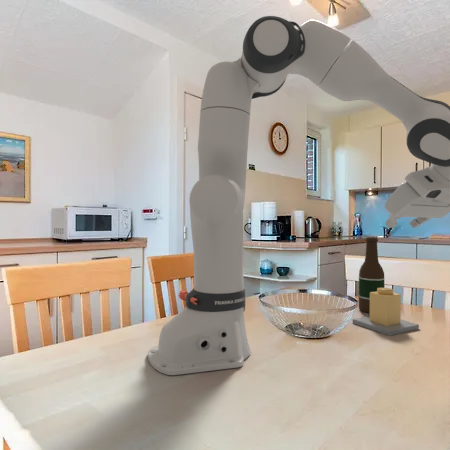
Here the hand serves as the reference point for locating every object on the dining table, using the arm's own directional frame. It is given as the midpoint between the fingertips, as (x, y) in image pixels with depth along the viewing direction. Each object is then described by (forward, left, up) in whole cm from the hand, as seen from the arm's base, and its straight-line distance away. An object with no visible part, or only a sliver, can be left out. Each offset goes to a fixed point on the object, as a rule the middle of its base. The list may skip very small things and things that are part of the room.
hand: (401, 225), depth 89 cm
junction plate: (+4, +7, -28) cm, 29 cm away
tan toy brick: (+4, +7, -27) cm, 28 cm away
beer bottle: (+14, +20, -28) cm, 38 cm away
